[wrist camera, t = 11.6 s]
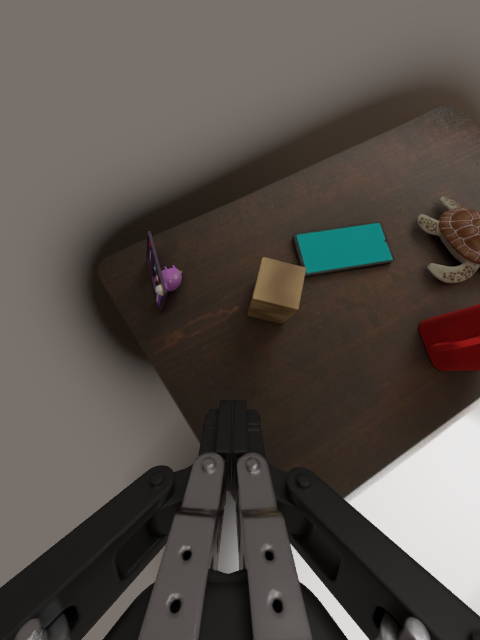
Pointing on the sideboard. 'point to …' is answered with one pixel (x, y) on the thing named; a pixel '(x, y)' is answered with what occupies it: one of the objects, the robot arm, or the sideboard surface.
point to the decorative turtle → (455, 240)
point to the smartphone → (342, 248)
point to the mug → (453, 339)
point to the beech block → (276, 291)
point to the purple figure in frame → (161, 274)
